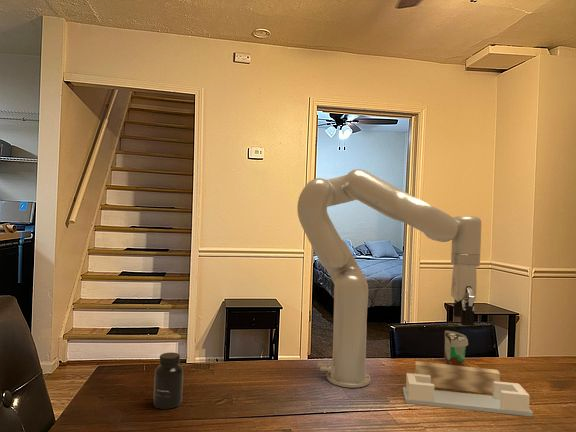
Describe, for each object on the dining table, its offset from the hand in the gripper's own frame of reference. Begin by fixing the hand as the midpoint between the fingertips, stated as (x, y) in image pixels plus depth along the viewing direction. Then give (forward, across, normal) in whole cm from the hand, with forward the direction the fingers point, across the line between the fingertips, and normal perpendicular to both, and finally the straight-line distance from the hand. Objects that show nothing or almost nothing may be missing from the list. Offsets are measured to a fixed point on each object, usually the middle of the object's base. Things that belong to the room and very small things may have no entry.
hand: (463, 320), depth 118 cm
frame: (+19, +10, -1) cm, 22 cm away
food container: (+19, -18, +3) cm, 27 cm away
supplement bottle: (+20, +29, -74) cm, 82 cm away
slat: (+19, 0, -1) cm, 19 cm away
